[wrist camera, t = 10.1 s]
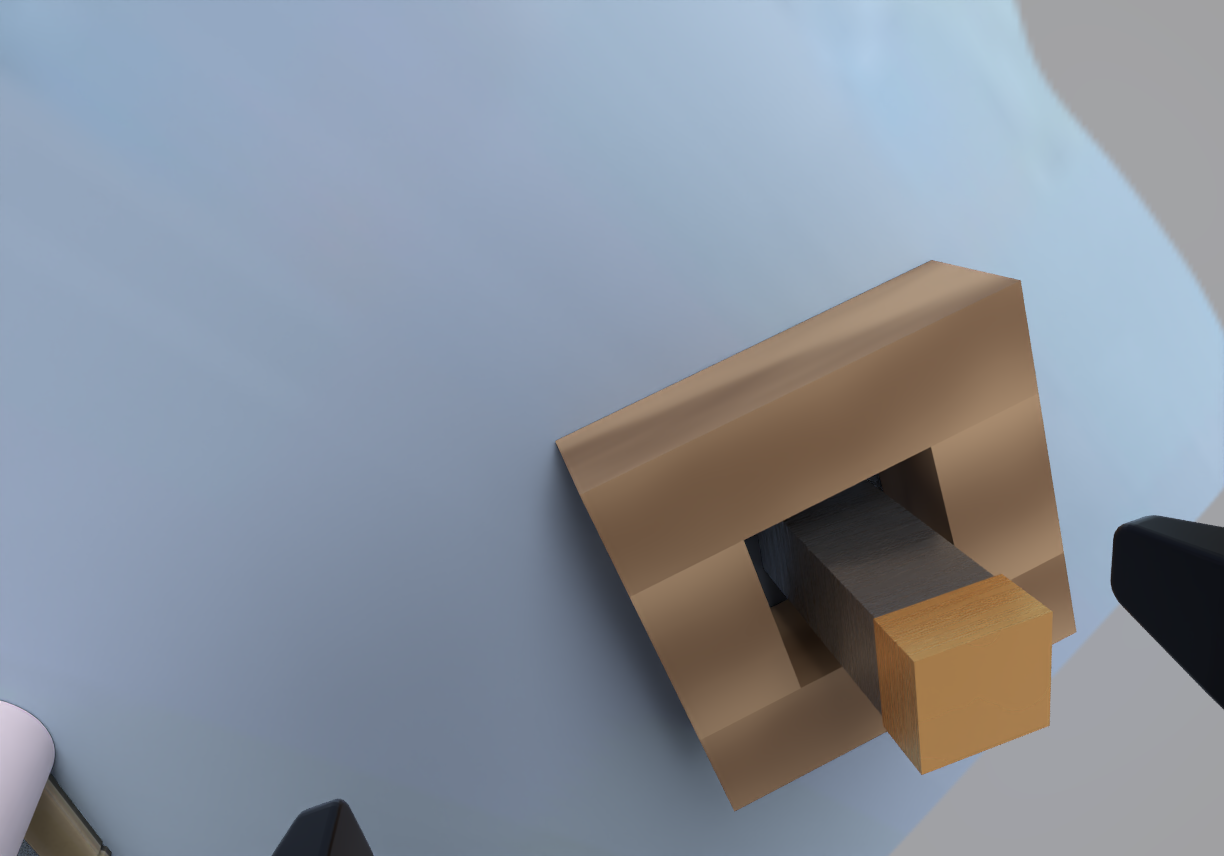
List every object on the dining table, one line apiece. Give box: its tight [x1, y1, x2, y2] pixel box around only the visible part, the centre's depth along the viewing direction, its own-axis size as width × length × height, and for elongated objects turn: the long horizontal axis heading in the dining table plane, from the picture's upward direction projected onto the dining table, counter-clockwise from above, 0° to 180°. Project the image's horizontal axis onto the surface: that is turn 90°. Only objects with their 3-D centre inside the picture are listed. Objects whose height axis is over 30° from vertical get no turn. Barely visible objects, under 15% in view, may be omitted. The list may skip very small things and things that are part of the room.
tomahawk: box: [24, 774, 111, 856], centre depth 21 cm, size 21×7×1 cm, turn 13°
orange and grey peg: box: [758, 479, 1053, 775], centre depth 20 cm, size 3×3×8 cm
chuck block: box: [556, 260, 1076, 811], centre depth 22 cm, size 12×12×4 cm
